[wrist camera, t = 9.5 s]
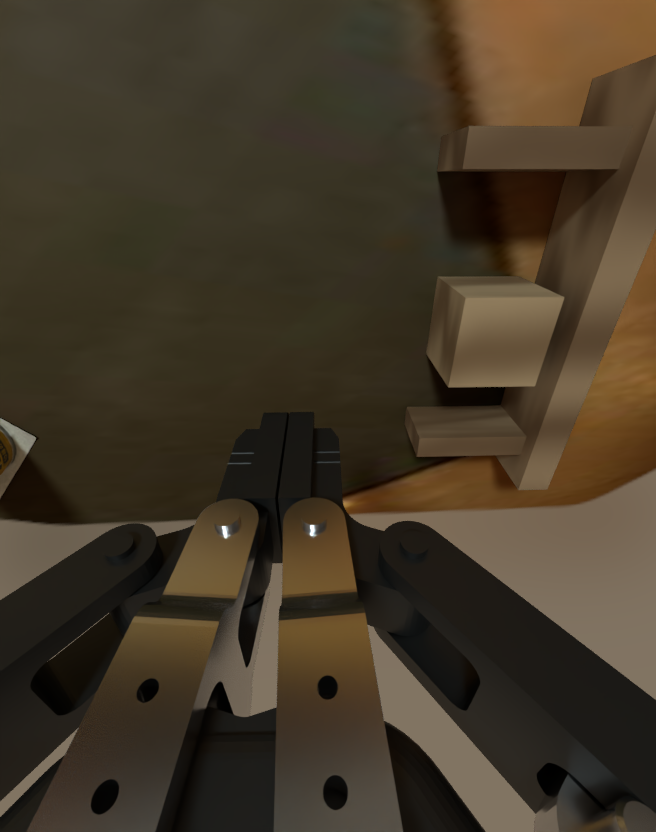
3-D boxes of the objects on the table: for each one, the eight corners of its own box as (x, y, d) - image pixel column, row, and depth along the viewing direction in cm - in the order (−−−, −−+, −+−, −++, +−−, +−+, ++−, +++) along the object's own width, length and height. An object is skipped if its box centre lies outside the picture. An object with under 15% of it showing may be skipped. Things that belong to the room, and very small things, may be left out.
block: (437, 276, 23) (465, 297, 18) (518, 276, 23) (564, 297, 19) (425, 353, 25) (448, 387, 21) (498, 352, 26) (534, 386, 21)
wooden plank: (449, 77, 18) (491, 44, 14) (633, 78, 18) (731, 46, 14) (401, 447, 29) (416, 492, 25) (513, 445, 30) (547, 489, 25)
